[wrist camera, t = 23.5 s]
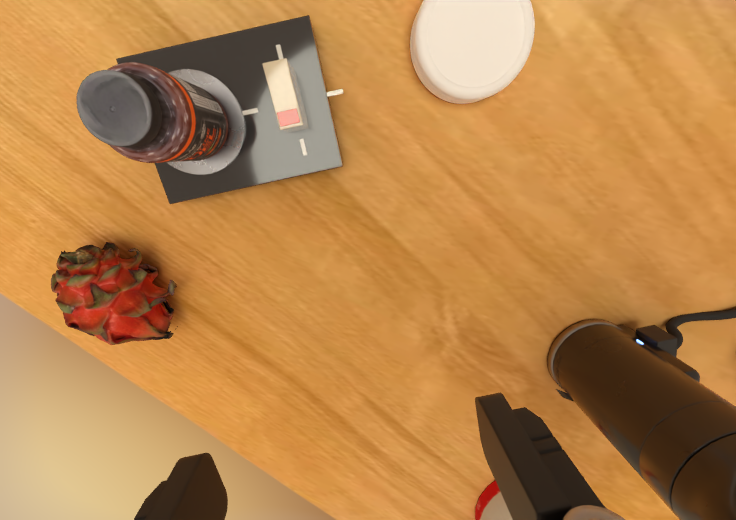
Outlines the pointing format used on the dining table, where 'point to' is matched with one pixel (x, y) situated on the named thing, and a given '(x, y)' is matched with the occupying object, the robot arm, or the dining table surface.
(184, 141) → the supplement bottle
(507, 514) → the kitchen timer
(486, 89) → the white short ridged cylinder
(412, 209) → the dining table surface
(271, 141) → the hob
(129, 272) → the dragon fruit
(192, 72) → the burner
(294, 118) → the knob
